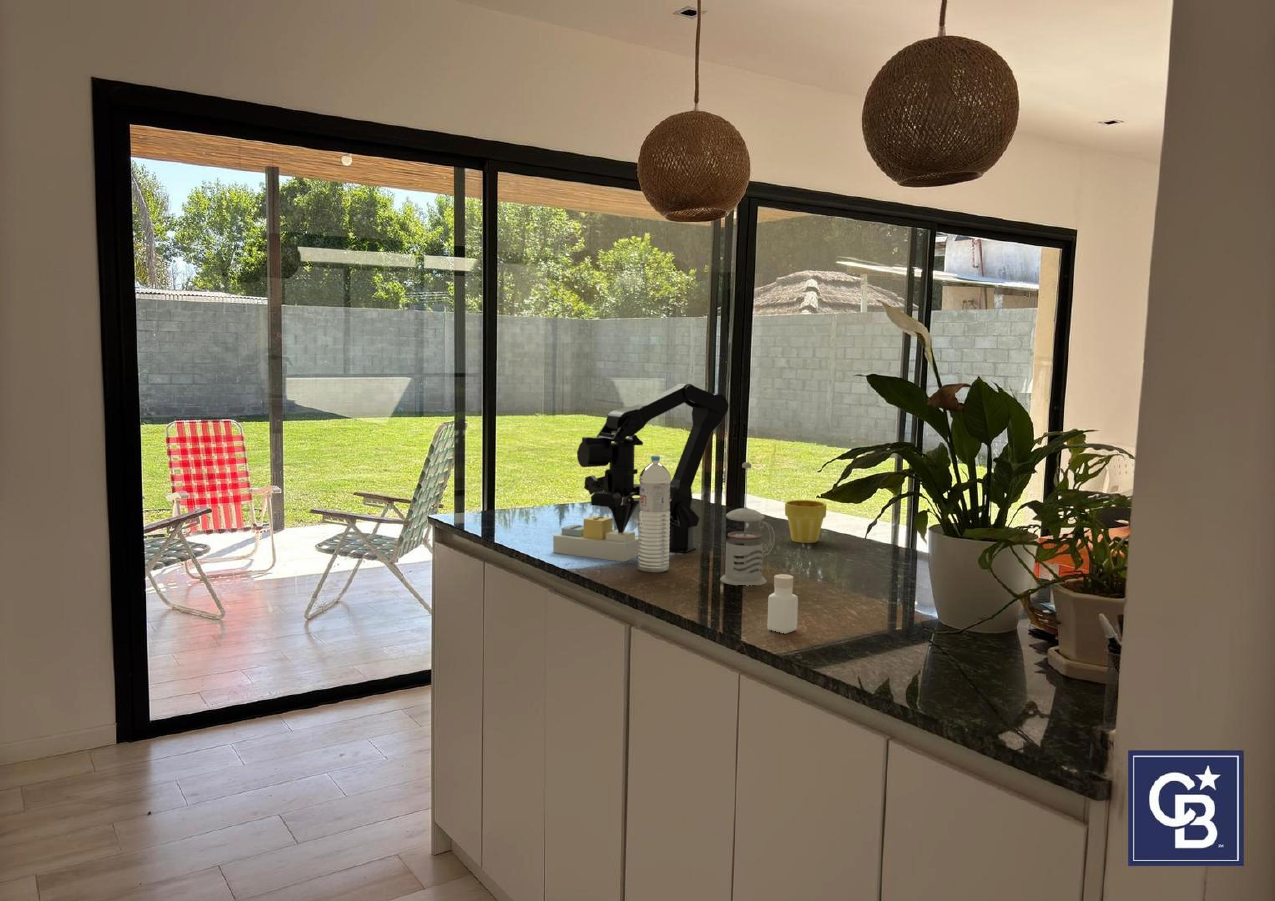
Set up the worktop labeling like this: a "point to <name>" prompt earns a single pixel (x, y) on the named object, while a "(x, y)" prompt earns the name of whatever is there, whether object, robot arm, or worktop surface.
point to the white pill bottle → (782, 605)
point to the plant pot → (805, 519)
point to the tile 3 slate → (573, 530)
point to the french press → (745, 548)
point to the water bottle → (654, 518)
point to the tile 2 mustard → (597, 527)
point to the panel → (595, 547)
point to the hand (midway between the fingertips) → (621, 531)
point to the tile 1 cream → (620, 536)
